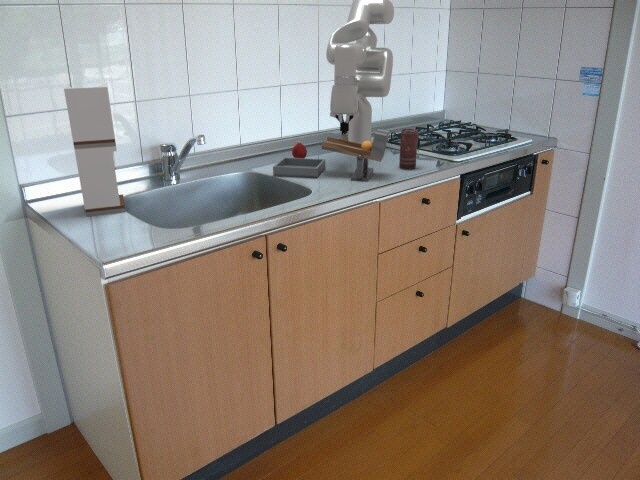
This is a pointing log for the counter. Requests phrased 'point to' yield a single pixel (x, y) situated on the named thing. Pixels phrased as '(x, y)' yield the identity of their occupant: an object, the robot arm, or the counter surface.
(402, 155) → the can
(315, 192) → the counter surface
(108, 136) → the grey pillar
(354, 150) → the chute
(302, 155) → the onion
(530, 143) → the counter surface
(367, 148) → the ball
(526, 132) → the counter surface
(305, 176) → the tray
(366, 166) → the chute stand
